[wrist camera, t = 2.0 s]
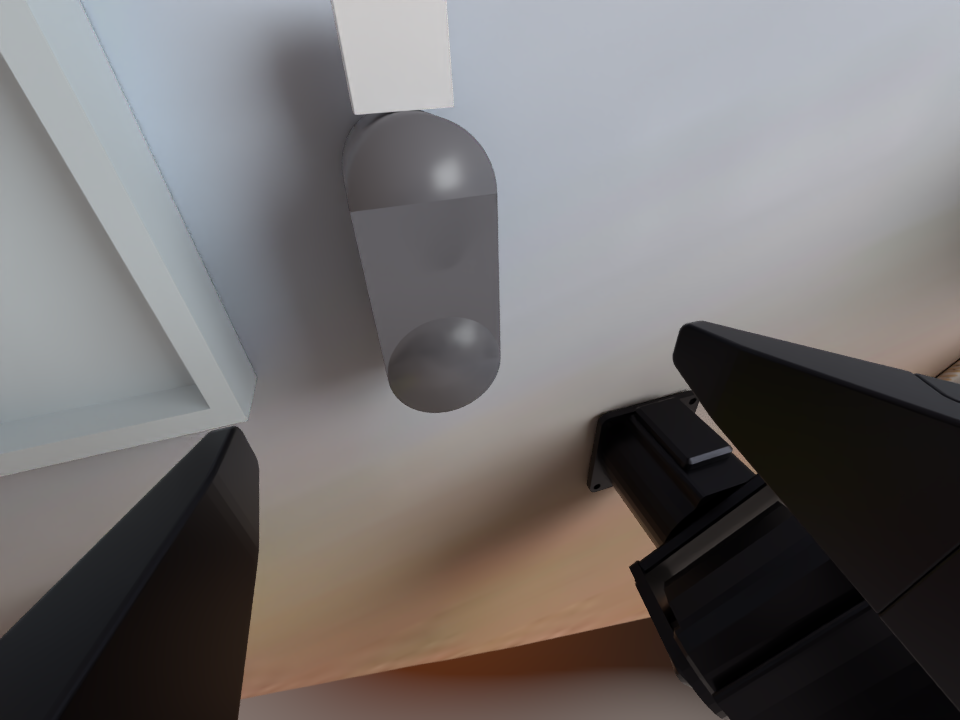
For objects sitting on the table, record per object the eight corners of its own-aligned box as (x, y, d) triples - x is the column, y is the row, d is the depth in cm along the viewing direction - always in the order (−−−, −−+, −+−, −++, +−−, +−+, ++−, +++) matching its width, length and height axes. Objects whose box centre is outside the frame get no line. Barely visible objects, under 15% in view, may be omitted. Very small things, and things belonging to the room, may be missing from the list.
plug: (469, 340, 17) (501, 398, 14) (384, 357, 16) (398, 423, 13) (443, -7, 11) (492, -41, 8) (302, -5, 10) (292, -41, 7)
